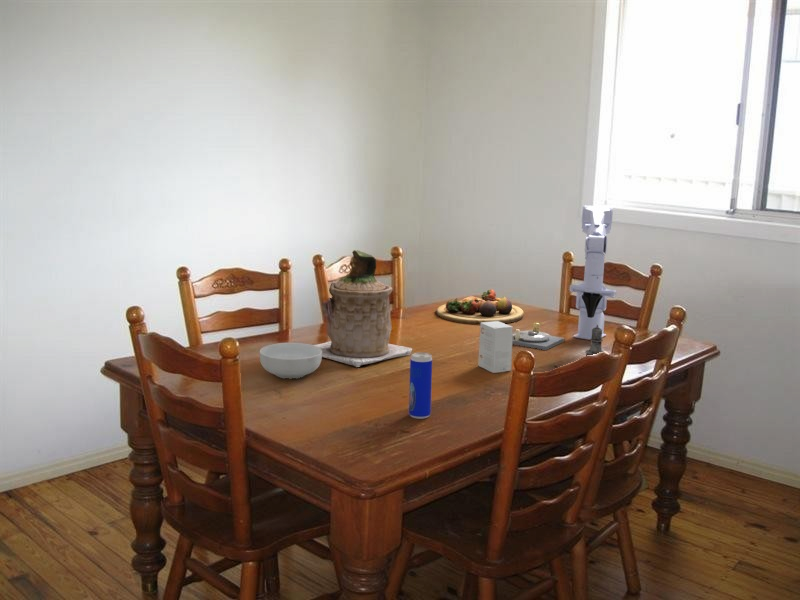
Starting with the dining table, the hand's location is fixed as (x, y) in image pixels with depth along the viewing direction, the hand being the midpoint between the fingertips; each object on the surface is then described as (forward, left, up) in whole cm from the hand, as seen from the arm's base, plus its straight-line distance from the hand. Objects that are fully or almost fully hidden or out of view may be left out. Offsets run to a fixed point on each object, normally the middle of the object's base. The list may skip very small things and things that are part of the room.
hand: (590, 317), depth 265 cm
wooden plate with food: (-21, -51, -11) cm, 56 cm away
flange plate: (+4, -19, -9) cm, 21 cm away
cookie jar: (+50, -53, -11) cm, 74 cm away
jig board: (+3, -18, -10) cm, 21 cm away
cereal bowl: (+79, -54, -11) cm, 96 cm away
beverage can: (+85, -8, -11) cm, 86 cm away
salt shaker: (+15, +8, -11) cm, 20 cm away
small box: (+38, -13, -11) cm, 42 cm away
